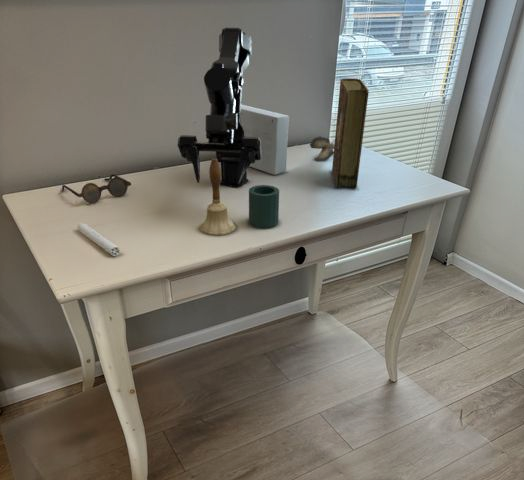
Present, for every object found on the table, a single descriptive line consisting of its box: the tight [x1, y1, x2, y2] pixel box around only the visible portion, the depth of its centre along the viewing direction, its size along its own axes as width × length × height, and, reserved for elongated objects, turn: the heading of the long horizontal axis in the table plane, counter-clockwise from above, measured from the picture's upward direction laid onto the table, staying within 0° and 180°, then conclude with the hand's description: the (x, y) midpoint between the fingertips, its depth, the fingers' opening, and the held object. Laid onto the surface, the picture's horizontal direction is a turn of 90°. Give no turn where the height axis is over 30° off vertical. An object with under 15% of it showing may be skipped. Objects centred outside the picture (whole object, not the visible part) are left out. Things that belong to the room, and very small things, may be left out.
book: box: [331, 78, 370, 189], centre depth 137 cm, size 16×6×25 cm, turn 179°
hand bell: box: [200, 157, 237, 236], centre depth 112 cm, size 8×8×16 cm
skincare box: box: [240, 104, 290, 176], centre depth 149 cm, size 21×6×16 cm, turn 43°
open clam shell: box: [309, 136, 335, 162], centre depth 160 cm, size 8×7×9 cm
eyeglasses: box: [61, 173, 132, 204], centre depth 133 cm, size 15×15×5 cm
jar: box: [248, 184, 280, 230], centre depth 117 cm, size 7×7×8 cm
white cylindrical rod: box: [77, 222, 120, 257], centre depth 110 cm, size 18×2×2 cm, turn 41°
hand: (217, 182), depth 113 cm, fingers open, 9 cm apart
